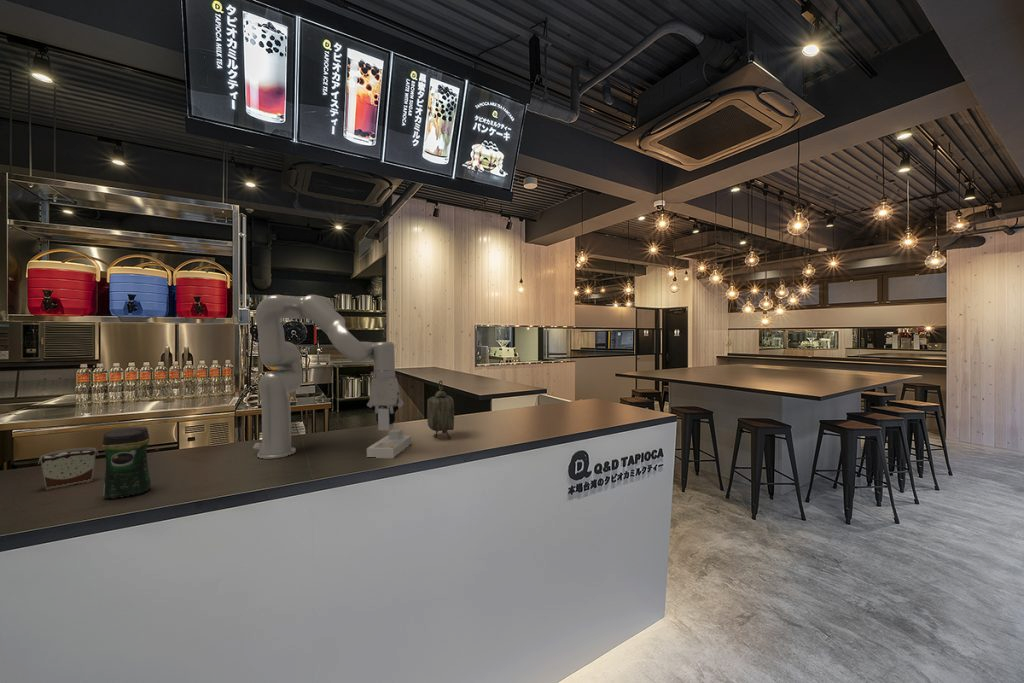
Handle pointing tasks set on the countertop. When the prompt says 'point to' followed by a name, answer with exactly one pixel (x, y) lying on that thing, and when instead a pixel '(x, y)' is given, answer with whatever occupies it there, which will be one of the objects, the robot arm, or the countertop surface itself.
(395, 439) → the power strip
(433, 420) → the dark lantern
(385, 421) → the plug
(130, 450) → the coffee jar
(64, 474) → the food container
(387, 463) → the countertop surface
